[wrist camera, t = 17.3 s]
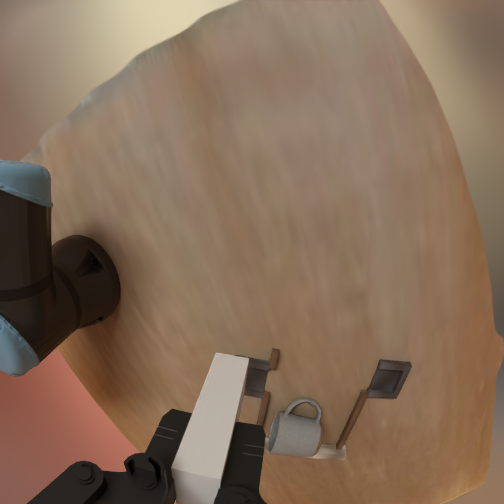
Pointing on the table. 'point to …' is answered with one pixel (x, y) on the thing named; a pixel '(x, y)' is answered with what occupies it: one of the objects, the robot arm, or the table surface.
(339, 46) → the table surface
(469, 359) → the table surface
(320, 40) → the table surface
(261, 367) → the frame with square trays
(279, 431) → the ceramic mug
